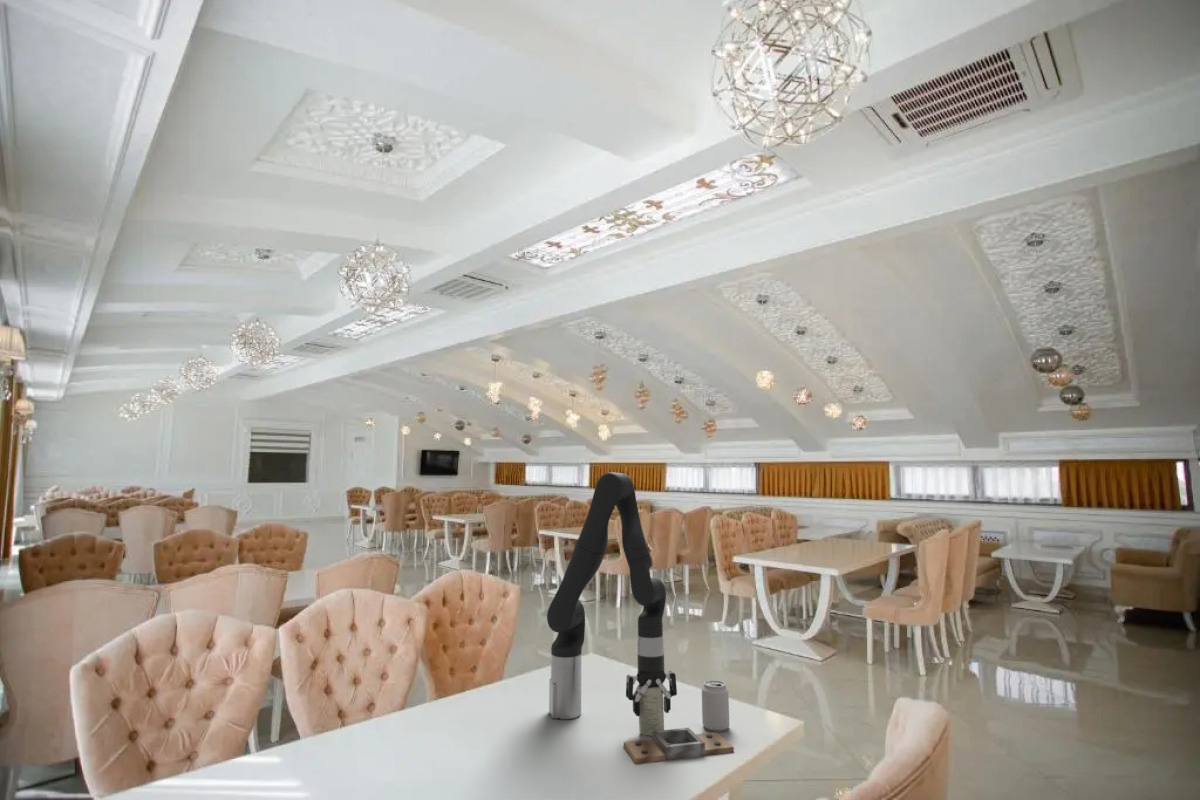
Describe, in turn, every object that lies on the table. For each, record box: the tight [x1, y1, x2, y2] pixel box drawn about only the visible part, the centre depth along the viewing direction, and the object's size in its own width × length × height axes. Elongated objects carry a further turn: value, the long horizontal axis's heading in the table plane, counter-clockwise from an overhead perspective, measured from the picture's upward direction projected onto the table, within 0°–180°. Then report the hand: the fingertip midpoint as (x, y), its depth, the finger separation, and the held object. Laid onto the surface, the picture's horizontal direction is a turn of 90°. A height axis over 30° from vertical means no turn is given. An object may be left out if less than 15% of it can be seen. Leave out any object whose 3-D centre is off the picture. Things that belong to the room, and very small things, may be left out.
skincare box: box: [638, 686, 665, 737], centre depth 165 cm, size 6×4×12 cm
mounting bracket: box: [623, 727, 735, 764], centre depth 154 cm, size 26×10×3 cm, turn 105°
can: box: [701, 679, 730, 733], centre depth 169 cm, size 8×8×12 cm
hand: (651, 713), depth 165 cm, fingers open, 8 cm apart
